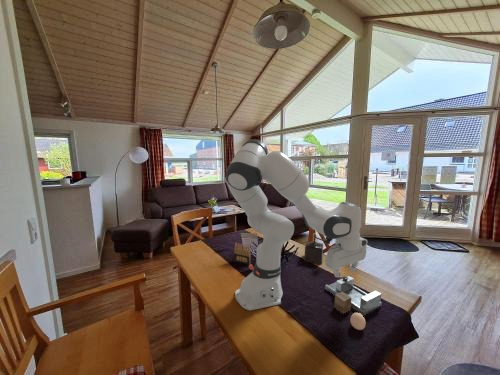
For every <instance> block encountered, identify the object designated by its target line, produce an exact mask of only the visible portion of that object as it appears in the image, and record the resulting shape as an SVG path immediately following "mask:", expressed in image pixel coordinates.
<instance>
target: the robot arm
mask: <svg viewBox="0 0 500 375" xmlns="http://www.w3.org/2000/svg"><path fill="white" fill-rule="evenodd" d="M307 177H308V176H307V175H306V173H304V171H303V170H302V169H301V168H300V167H299V165H297V164H296V163H295V162H294V161H293V160H292V159H291V158H290V157H289V156H287V155H286V154H285V153H283V152H282V151H280V150H274V151H271V152H269V151H268V147H267V145H266V144H265V143H264V142H263V141H262V140H260V139H250V140H248V141H246V142H245V143H243V144H242V145H241V147H240V148H239V150H237V151H236V153H235V155H234V157H233V158H232V160H231V161H230V163H229V165H228V166H227V169H226V171H225V182H226V185H227V187H228V189H229V191H230V193H231V194H232V196H233V198H234V200H235V201H236V202H237V203H238V205H239V206H240V207H241V209H242V210H243V212H244V213H245V215H246V216H247V223H248V225H249V226H250V228H252V229H253V230H254V231H255V232H257V233H259V234H261V235H262V236H263V237H262V238H263V240H262V242H261V243H259V244H258V245H257V247H256V258H255V259H256V260H255V261H256V262H255V264H254V265H253V264H252V263H251V264H250V265H248V269H249V270H250V271H252V272H250V273H249V274H248V275H247V276H246V277H245V278H244V279H242V281H241V283H240V286H239V287H240V288H238V289H236V290H235V292H234V293H235V294H234V297H235V300H236V302H237V303H238V304H239V305H240V306H241V307H242V308H243V309H245V310H247V311H254V310H259V309H264V308H269V307H273V306H277V305H281V304H282V300H281V299H282V297H283V295H284V294H283V292H284V291H283V288H282V282H281V273H282V264H281V254H282V249H283V245H284V244H285V243H286V242H288V241H290V239H292V237H293V234H294V232H295V225H294V223H293V221H291V219H288V218H287V217H286V216H285V215H282V214H278V213H277V212H274V211H272V210H270V208H268V203H269V202H268V198H267V196H266V194H265V193H264V191H263V190H262V188H261V187H260V185H261V184H262V181H263V180H265V181H267V182H268V183H269V184H271V186H272V187H273V188H274V189H275V190H276V191H277V192H278V193H279V194H280V195H281V196H282V197H284V199H286V200H288V201H289V202H291V203H292V204H293V205H294V207H295V208H296V209H297V210H298V211H299V212H300V214H301V215H302V218H303V221H304V224H305V226H307V227H308V228H309V229H311V230H313V231H315V232H317V233H319V234H320V235H322V236H324V237H325V238H326V237H328V238H330V239H333V240H335V245H331V246H330V248H329V249H328V250H327V252H326V257H325V267H326V268H328V269H329V270H331V271H333V272H334V273H333V275H334V277H335V278H337V279H338V278H340V277H341V272H339V270H340V269H341V268H344V267H346V266H349V265H350V266H349V271H351V272H355V271H357V270H356V269H357V267H358V265H359V262H360V261H363V260H365V258H366V255H367V248H368V247H367V245H368V239H366V238H364V237H361V234H360V229H361V227H362V208H361V207H360V206H359V205H358V204H355V203H352V202H347V201H341V202H339V204H338V205H337V206H336V207H335V208H334V209H332V210H327V209H325V208H323V207H321V206H319V205H315V204H314V203H313V202H312V200H311V199H310V198H309V197H308V195H307V193H308V191H309V189H310V181H309V180H308V179H309V178H307Z"/></svg>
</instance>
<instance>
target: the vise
mask: <svg viewBox="0 0 500 375" xmlns="http://www.w3.org/2000/svg"><path fill="white" fill-rule="evenodd" d="M325 289H326V290H325ZM324 290H325V291H327V292H328V291H329V292H330V293H329V292H328V293H329V294H331V293H332V294H333V295H332V294H331V295H332V296H334V295H336V294H338V293H339V292H337V291H336V281H335V282H333V283H331V284H325V286H324ZM344 293H345V294H347V295H348V296H350V297H351V307H352V308H353V309H355V310H356V311H358V312H359V313H360V314H362V315H363V316H364V315H366V314H368V313H369V312H371V311H373V310H374V309H376V308H377V307H379V306H381V307H382V301H381V299H382V293H381V292H379V291H377V290H374V291H371V292H370V293H367V292H365V291H363V290H361V289H360V288H359V287H357V286H355V285H353V289H350V290H348V291H346V292H344ZM352 308H351V309H352ZM353 309H352V310H353ZM355 310H354V311H355ZM356 311H355V312H356ZM358 312H357V313H358ZM373 312H374V311H373ZM371 313H372V312H371ZM369 314H370V313H369ZM369 314H368V315H369ZM366 316H367V315H366ZM364 317H365V316H364Z"/></svg>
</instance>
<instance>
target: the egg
mask: <svg viewBox="0 0 500 375" xmlns="http://www.w3.org/2000/svg"><path fill="white" fill-rule="evenodd" d="M350 324H351V326H352V327H353V328H354V329H356V330H358V331H362V330H364V329H365V328H366V324H367V323H366V319H365V316H364V317H363V315H362V314H360V313H358V312H354V313H352V315H350Z"/></svg>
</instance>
